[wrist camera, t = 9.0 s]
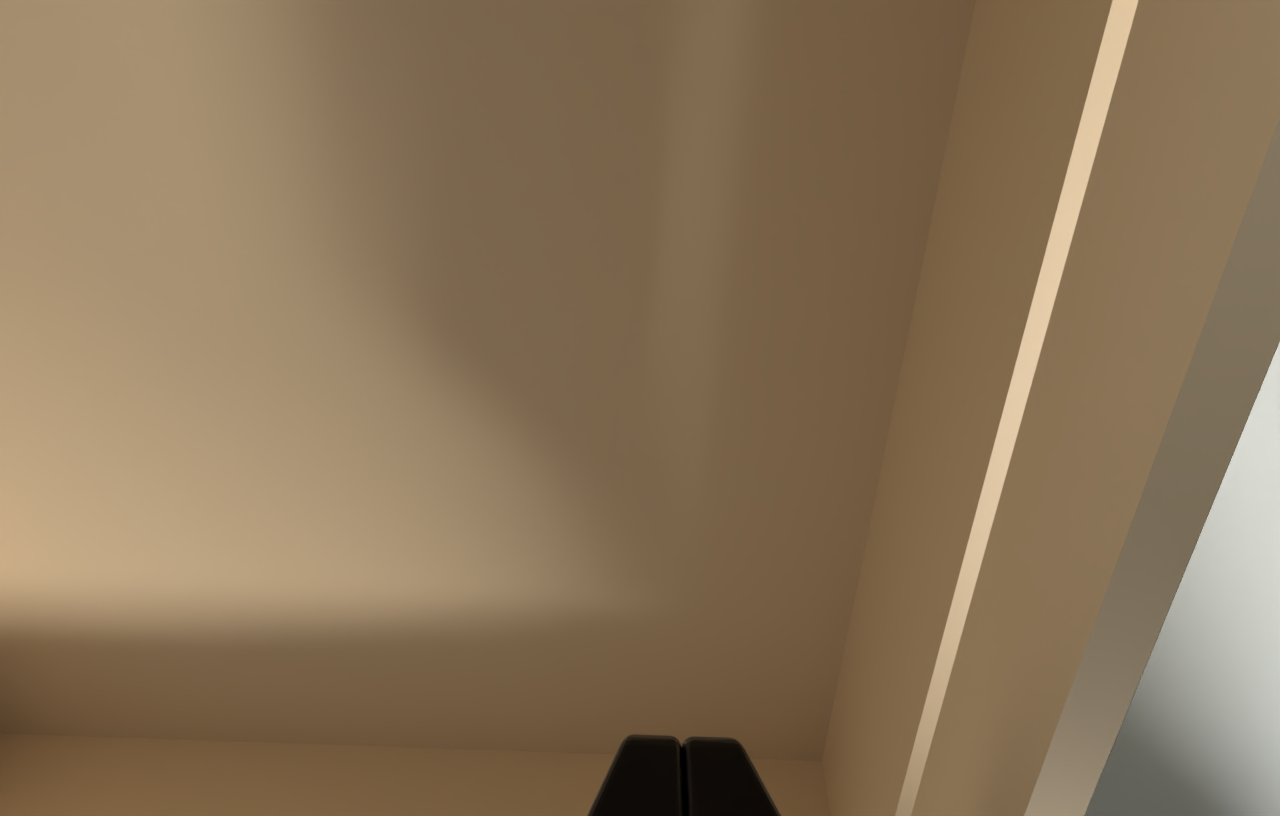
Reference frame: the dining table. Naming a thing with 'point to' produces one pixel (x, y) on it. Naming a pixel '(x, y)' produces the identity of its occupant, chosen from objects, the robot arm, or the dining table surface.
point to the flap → (1123, 414)
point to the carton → (511, 387)
